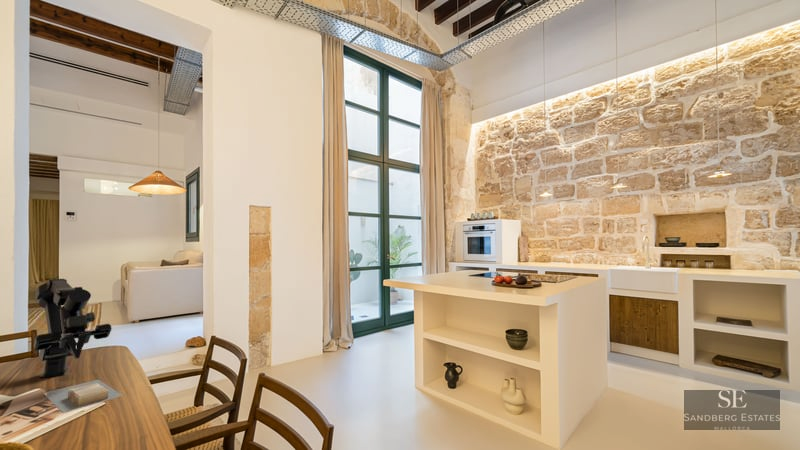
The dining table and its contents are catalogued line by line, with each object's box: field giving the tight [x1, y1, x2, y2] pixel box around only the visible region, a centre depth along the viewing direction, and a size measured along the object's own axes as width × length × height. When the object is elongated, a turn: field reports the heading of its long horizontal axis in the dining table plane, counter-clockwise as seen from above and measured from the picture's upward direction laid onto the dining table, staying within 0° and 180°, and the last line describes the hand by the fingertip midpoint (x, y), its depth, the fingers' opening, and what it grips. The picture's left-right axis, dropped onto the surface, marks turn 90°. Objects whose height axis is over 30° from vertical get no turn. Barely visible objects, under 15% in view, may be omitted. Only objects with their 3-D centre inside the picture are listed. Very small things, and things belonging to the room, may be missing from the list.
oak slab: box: [68, 383, 109, 407], centre depth 104 cm, size 3×7×10 cm
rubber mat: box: [45, 379, 124, 414], centre depth 106 cm, size 22×14×1 cm, turn 58°
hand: (77, 357), depth 111 cm, fingers closed
